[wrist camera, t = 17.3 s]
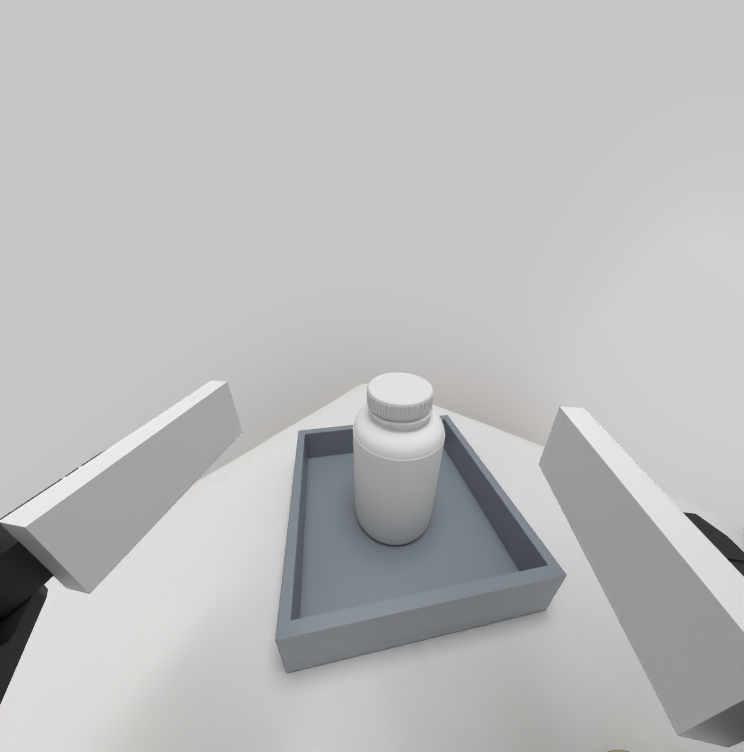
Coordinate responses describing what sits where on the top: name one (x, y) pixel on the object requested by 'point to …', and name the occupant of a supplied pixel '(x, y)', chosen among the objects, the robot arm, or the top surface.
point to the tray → (401, 558)
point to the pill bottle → (396, 458)
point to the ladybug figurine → (618, 751)
